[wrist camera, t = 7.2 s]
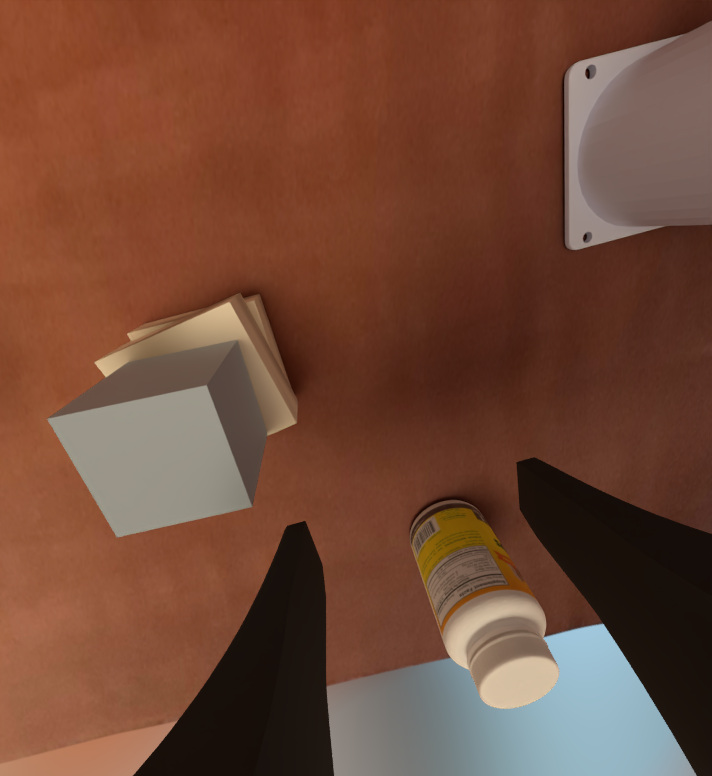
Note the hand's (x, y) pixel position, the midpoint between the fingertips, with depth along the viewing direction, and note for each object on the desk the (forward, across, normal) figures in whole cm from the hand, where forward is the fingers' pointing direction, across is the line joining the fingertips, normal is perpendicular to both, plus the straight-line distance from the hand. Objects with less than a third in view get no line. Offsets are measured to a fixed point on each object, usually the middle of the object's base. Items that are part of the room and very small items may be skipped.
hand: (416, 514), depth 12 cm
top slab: (+8, +7, -4) cm, 12 cm away
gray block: (+6, +7, -4) cm, 10 cm away
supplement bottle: (+11, -3, +12) cm, 16 cm away
